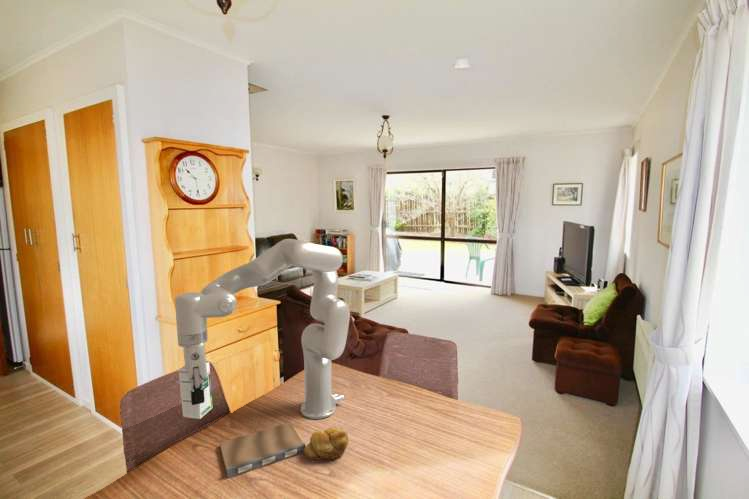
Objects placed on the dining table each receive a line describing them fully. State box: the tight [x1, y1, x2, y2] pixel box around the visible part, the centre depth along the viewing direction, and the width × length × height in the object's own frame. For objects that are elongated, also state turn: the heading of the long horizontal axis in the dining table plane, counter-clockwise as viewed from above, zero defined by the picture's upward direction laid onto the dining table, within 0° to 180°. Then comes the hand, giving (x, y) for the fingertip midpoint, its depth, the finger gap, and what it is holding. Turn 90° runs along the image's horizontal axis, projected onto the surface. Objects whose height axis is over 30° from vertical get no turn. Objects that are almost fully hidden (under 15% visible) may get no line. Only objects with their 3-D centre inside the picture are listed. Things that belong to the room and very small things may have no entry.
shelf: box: [219, 421, 307, 479], centre depth 114 cm, size 22×15×2 cm
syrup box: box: [178, 360, 214, 420], centre depth 107 cm, size 6×6×14 cm
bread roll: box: [303, 426, 349, 461], centre depth 112 cm, size 13×10×8 cm
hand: (196, 396), depth 107 cm, fingers closed on syrup box, 7 cm apart
